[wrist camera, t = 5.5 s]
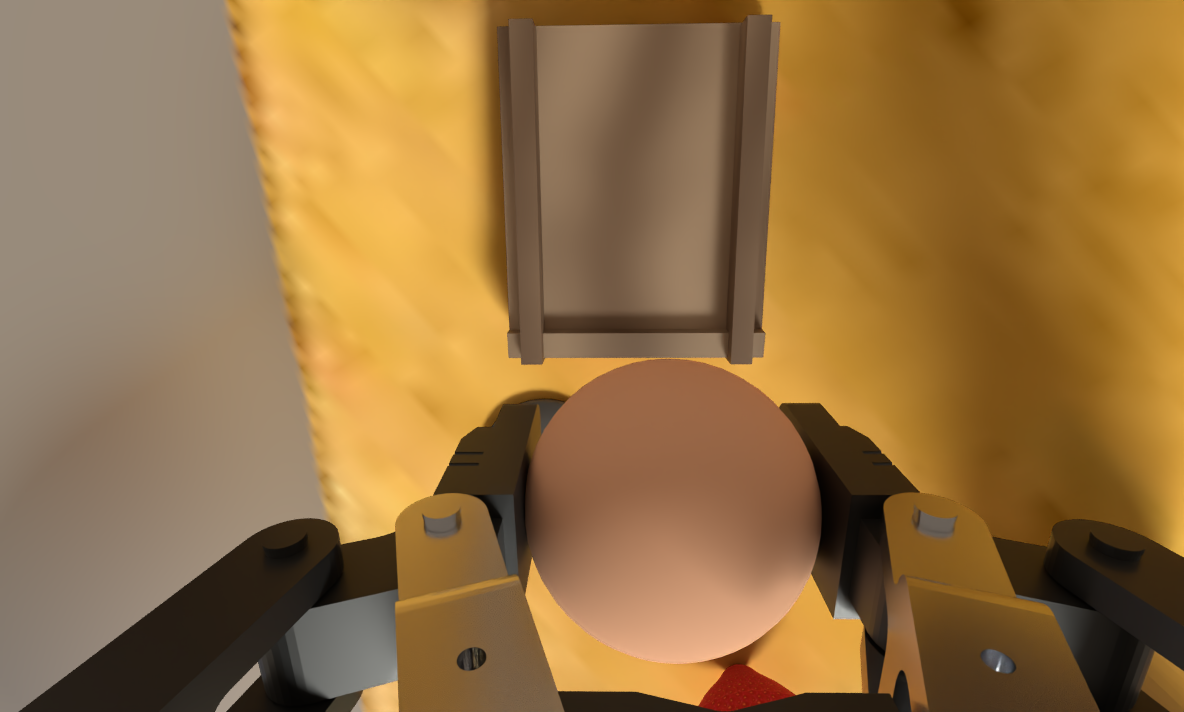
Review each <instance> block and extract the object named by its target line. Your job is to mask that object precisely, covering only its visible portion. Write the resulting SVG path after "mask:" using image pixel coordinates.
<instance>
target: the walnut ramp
mask: <svg viewBox="0 0 1184 712" xmlns="http://www.w3.org/2000/svg"><path fill="white" fill-rule="evenodd" d="M779 36H780V22H772V15H748V16H747V17H746V19H745V20H744V21H743V23H695V24H632V25H569V26H535V24H534V22H533V19H509V26H506V27H497V37H498V61H499V85H500V110H501V134H502V158H503V182H504V207H505V231H506V255H507V279H508V304H509V328H510V330H509V331H508V333H507V337H508V354H509V358H521V365H528V364H543V361H544V359H545V358H722V357H725V358H726V359H727V360H728V361H729V363H730V364H752V357H763V354H764V342H765V332H764V331H763V330H762V315H763V299H764V282H765V266H766V249H767V233H768V216H769V200H770V184H771V167H772V151H773V134H774V118H775V102H776V85H777V69H778V52H779Z"/></svg>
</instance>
